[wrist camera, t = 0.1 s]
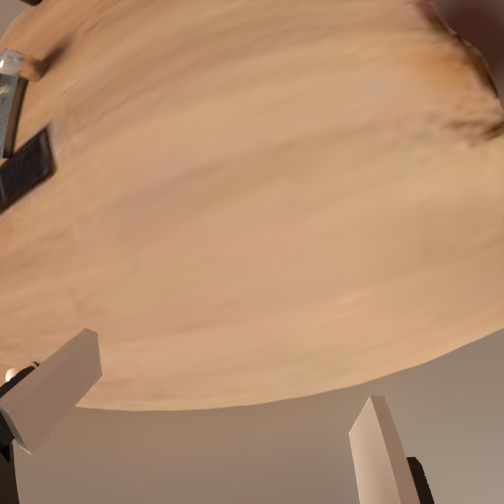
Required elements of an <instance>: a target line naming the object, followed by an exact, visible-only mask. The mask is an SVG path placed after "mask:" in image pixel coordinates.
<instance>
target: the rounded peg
mask: <svg viewBox="0 0 504 504" xmlns="http://www.w3.org/2000/svg"><path fill="white" fill-rule="evenodd" d="M46 67H47V64H46V62H45V61H43V60H40V59H37V58H34V57H32V56H29V55H26V54H23V53H20V52H17V51H14V50H11V49H8V48H6V49H4V50H3V51H2V52H1V53H0V73H2V74H6V75H10V76H14V77H18V78H22V79H26V80H29V81H33V82H37V81H39V80H40V79H41V78H42V76H43V75H44V73H45V71H46Z"/></svg>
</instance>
